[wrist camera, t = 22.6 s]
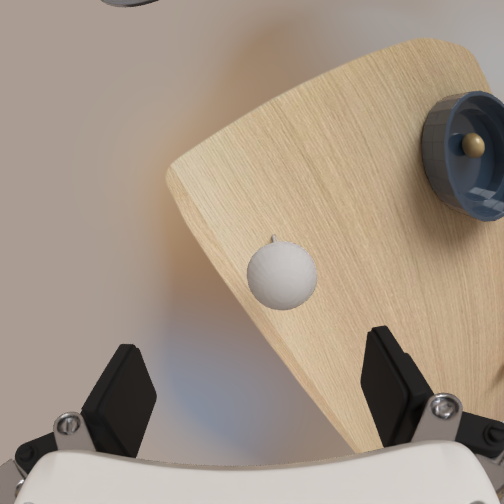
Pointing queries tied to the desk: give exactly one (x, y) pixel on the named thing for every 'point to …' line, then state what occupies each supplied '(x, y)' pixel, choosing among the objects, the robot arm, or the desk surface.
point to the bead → (473, 145)
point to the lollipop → (281, 275)
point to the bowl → (458, 163)
